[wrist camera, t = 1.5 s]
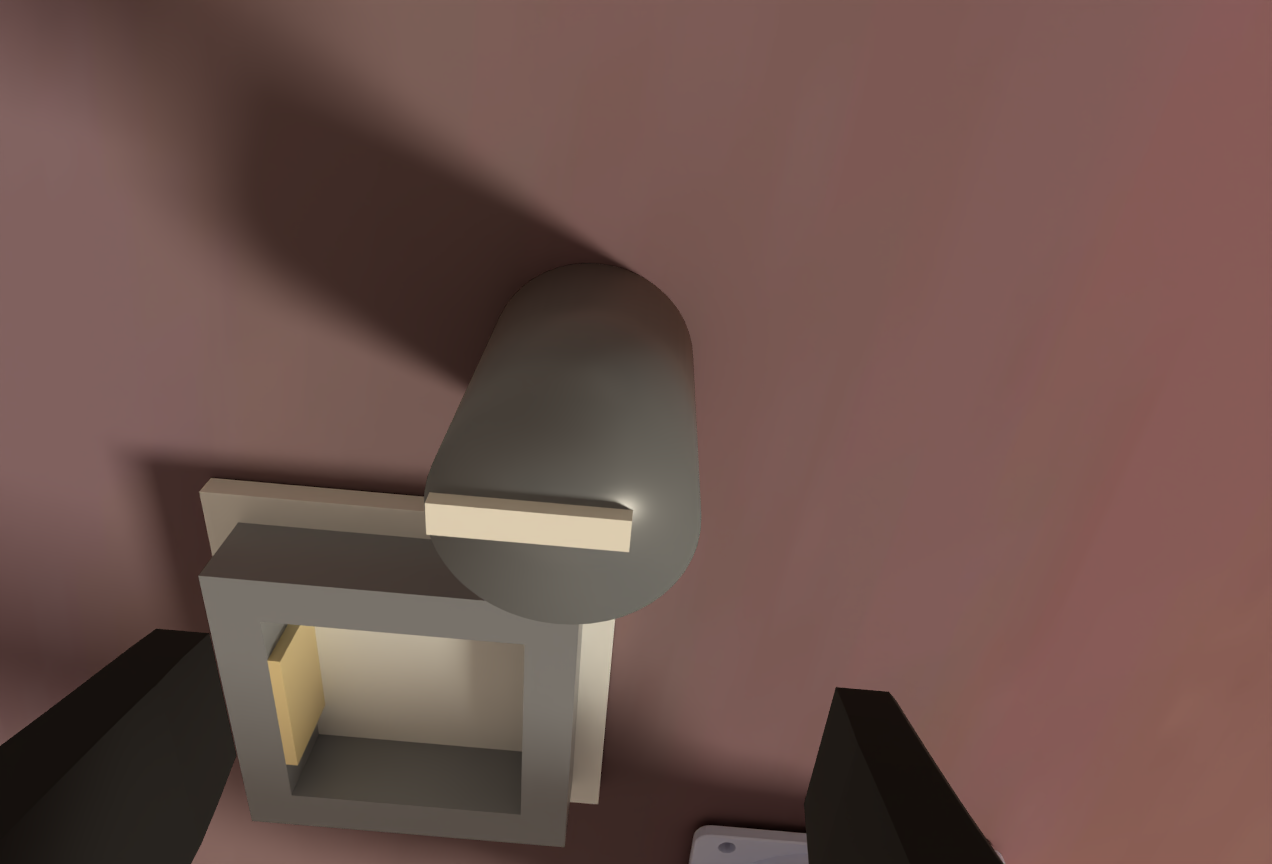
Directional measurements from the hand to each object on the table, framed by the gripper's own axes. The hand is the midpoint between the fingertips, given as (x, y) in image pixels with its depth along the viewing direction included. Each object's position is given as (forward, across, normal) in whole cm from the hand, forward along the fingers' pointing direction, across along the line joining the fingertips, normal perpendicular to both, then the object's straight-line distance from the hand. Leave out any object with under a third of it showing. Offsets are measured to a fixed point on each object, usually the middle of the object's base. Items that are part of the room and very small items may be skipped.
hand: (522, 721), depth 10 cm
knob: (+10, 0, 0) cm, 10 cm away
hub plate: (+10, +4, +9) cm, 14 cm away
